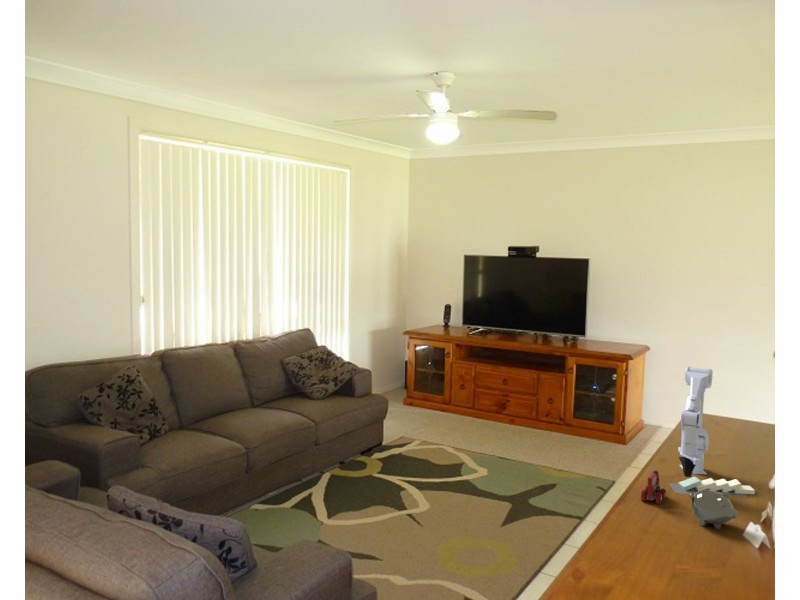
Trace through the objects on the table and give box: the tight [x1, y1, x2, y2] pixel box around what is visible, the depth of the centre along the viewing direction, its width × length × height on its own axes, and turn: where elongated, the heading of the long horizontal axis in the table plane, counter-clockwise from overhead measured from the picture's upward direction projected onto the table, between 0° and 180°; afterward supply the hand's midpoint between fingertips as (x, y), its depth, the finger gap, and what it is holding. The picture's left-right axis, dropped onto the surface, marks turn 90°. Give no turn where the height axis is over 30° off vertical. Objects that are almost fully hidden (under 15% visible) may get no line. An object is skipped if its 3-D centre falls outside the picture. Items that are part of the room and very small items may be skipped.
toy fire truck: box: [640, 469, 667, 505], centre depth 240 cm, size 7×12×10 cm, turn 144°
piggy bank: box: [688, 490, 738, 530], centre depth 220 cm, size 11×15×12 cm
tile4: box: [720, 479, 742, 492], centre depth 248 cm, size 2×4×7 cm
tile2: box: [695, 477, 716, 491], centre depth 249 cm, size 2×4×7 cm
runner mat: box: [667, 482, 749, 498], centre depth 249 cm, size 10×26×1 cm, turn 84°
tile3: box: [709, 478, 729, 491], centre depth 249 cm, size 2×4×7 cm
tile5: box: [732, 484, 756, 495], centre depth 248 cm, size 2×4×7 cm
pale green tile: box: [678, 476, 702, 491], centre depth 250 cm, size 2×4×7 cm
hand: (687, 476), depth 249 cm, fingers closed
